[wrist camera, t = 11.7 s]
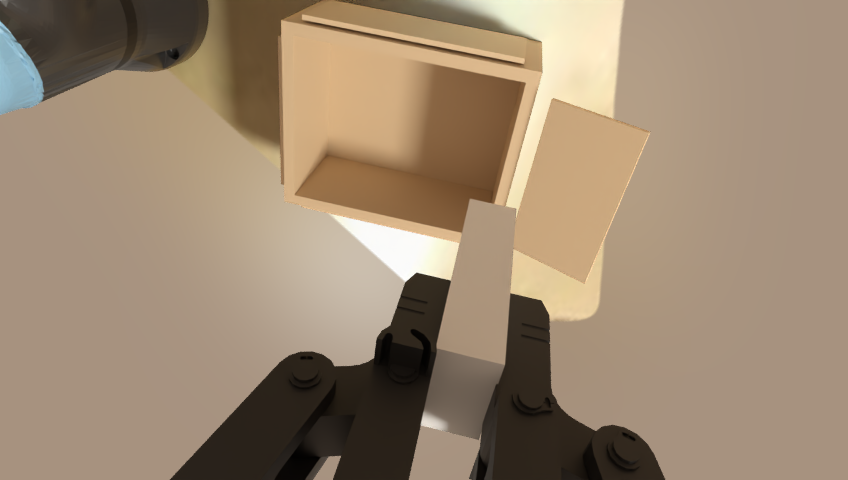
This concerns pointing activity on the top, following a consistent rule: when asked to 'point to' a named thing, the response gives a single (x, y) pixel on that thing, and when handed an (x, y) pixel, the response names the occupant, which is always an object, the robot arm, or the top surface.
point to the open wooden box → (400, 115)
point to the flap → (575, 187)
